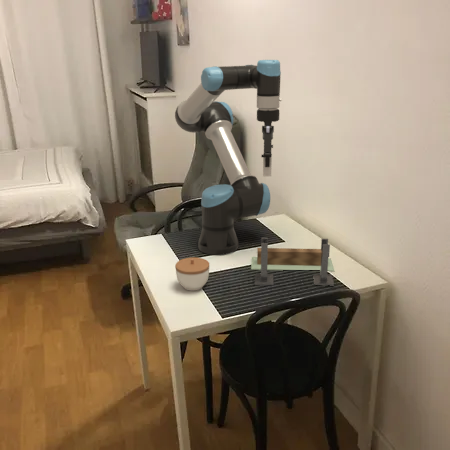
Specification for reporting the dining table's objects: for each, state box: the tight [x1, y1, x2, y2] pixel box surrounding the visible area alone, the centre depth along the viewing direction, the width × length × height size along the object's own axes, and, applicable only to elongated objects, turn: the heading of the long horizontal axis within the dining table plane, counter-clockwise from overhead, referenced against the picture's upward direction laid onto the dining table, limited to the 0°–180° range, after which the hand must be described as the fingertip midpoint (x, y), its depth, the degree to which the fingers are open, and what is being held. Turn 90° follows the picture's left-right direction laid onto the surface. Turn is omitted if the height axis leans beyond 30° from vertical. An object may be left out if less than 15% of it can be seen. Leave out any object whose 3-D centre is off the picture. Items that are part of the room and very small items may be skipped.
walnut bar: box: [256, 247, 321, 266], centre depth 171 cm, size 24×3×5 cm, turn 85°
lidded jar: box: [174, 256, 210, 292], centre depth 156 cm, size 11×11×9 cm
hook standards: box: [254, 237, 335, 287], centre depth 158 cm, size 25×6×14 cm, turn 85°
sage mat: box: [250, 256, 335, 272], centre depth 172 cm, size 28×10×1 cm, turn 85°
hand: (267, 171), depth 172 cm, fingers open, 13 cm apart
